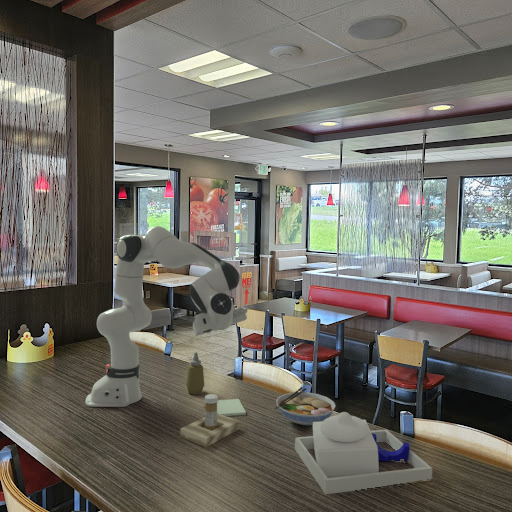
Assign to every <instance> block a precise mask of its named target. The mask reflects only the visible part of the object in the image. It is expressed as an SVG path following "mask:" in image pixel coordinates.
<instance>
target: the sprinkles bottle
mask: <svg viewBox="0 0 512 512" xmlns="http://www.w3.org/2000/svg"><path fill="white" fill-rule="evenodd" d="M218 400H219V397H218V395H217V394H213V393H212V394H205V396H204V404H205V405H204V417H205V429H208V430H210V431H212V430H214V429H216V428H217V402H218Z"/></svg>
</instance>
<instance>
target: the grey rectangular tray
mask: <svg viewBox="0 0 512 512" xmlns="http://www.w3.org/2000/svg"><path fill="white" fill-rule="evenodd" d="M370 431H371V433H373V434H376V437H377V439H376V441H377V442H381V443H385V442H386V443H387V444H389V445H390V446H391V447H392V448H393V449H395V450H398V449H400V448H401V447H402V445H403V443H404V442H402V441H400V439H398V438H397V437H396V436H395V435H394V434H392V433H391V432H390V431H389V430H388V429H379V430H378V429H377V430H370ZM384 441H385V442H384ZM386 443H385V444H386ZM387 444H386V445H387ZM389 445H388V446H389ZM390 446H389V447H390ZM391 447H390V448H391ZM392 448H391V449H392ZM308 449H309V450H314V441H313V435H311V436H310V435H309V436H300V437H295V440H294V450H295V451H296V453H297V454H299V455H298V456H299V457H300V459H301V460H302V462H303V463H304V465H305V467H306V468H307V470H308V471H309V472H310V474H311V476H313V478H314V480H315V481H316V483H317V484H318V485H319V487H320V489H321V490H322V491H323V493H324V494H325V495H331V494H340V493H347V492H355V490H357V491H362V490H361V489H365V490H368V489H367V488H373V489H376V488H375V487H381V486H387V485H393V484H400V483H407V482H412V481H419V480H427V479H432V480H433V467H432V466H431V465H429V464H428V463H427V462H426V461H425V460H423V459H422V458H421V457H420V456H418V455H417V454H416V453H415V452H414V451H412V449H410V450H409V454H408V458H407V461H409V462H410V463H411V464H412V465H413V466H414V467H415V468H413V467H412V468H407V469H406V468H405V469H404V468H403V469H398V470H397V469H396V470H389V471H380V472H378V473H369V474H360V475H352V476H343V477H334V478H327V476H326V475H325V474H324V472H323V471H322V469H321V468H320V467H319V465H318V464H317V462H316V459H314V457H313V456H312V455H311V453H310V452H309V450H308ZM393 449H392V450H393ZM381 488H382V487H381Z"/></svg>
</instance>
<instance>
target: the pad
mask: <svg viewBox="0 0 512 512" xmlns="http://www.w3.org/2000/svg"><path fill="white" fill-rule="evenodd" d="M240 400H241V399H239V398H233V399H232V398H231V399H218V402H217V413H218V414H221V415H224V416H227V417H233V416H246V415H247V412H246V409H245V407H244V405H243V404H242V403H241V401H240Z"/></svg>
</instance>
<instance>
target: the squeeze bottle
mask: <svg viewBox="0 0 512 512" xmlns="http://www.w3.org/2000/svg"><path fill="white" fill-rule="evenodd" d="M189 364H190V365H188V366H187V374H186V381H185V386H186V389H187V392H188V394H190V395H201V393H202V392H203V390H204V387H205V377H204V367H203V365H202V361H201V359H199V356H198V351H195V352H194V355H193V356H192V359H191V360H190V363H189Z"/></svg>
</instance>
